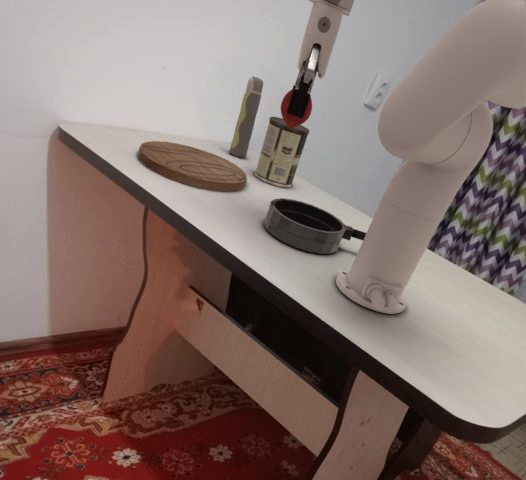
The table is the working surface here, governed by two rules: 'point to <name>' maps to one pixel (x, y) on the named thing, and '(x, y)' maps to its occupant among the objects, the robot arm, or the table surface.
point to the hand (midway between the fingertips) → (294, 111)
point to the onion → (291, 119)
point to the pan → (304, 226)
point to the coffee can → (281, 153)
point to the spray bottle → (247, 118)
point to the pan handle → (353, 233)
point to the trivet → (192, 166)
